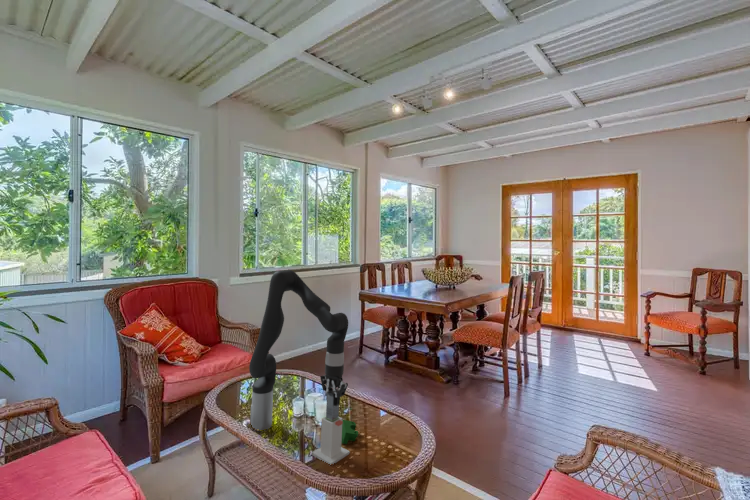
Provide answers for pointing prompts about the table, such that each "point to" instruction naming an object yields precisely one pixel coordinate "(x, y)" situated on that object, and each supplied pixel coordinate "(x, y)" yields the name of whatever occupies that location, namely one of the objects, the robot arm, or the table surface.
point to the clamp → (348, 431)
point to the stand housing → (331, 442)
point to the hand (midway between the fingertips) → (332, 403)
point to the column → (331, 407)
